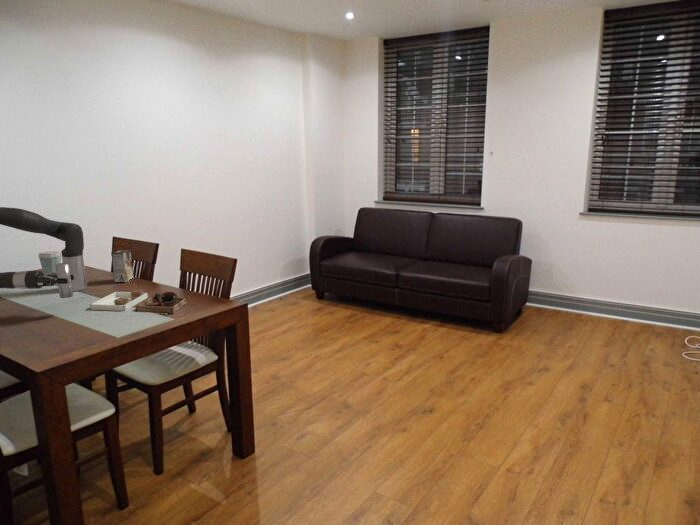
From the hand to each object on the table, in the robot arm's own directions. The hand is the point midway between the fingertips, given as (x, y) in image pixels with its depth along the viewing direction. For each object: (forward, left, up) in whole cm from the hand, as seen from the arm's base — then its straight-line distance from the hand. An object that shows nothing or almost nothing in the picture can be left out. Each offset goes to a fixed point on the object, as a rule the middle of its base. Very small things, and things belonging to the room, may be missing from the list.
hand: (70, 279), depth 213 cm
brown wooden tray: (-12, +33, -15) cm, 39 cm away
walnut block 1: (-8, +17, -15) cm, 24 cm away
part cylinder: (0, -3, -8) cm, 8 cm away
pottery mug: (-14, +35, -16) cm, 40 cm away
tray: (-14, +12, -15) cm, 24 cm away
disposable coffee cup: (-53, -49, -16) cm, 74 cm away
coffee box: (-54, -9, -16) cm, 57 cm away
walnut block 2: (-21, +17, -15) cm, 31 cm away
